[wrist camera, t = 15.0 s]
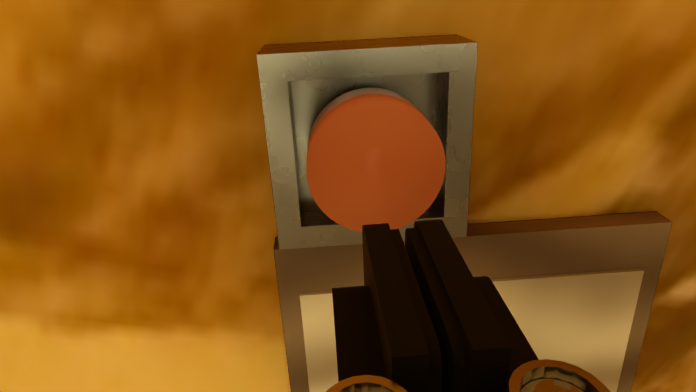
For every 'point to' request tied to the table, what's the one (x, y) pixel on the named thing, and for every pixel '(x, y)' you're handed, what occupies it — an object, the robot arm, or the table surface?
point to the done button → (373, 160)
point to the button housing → (355, 73)
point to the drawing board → (506, 291)
